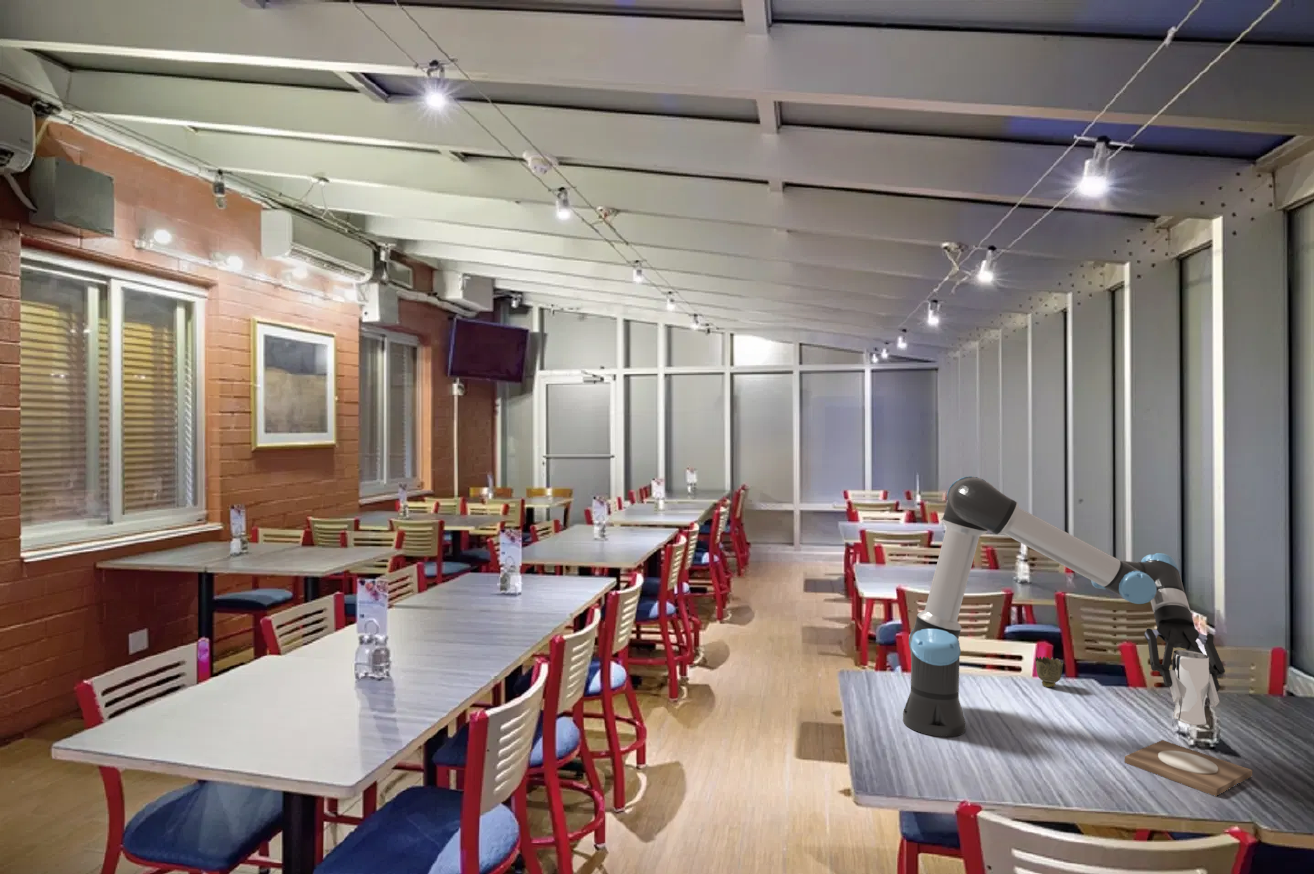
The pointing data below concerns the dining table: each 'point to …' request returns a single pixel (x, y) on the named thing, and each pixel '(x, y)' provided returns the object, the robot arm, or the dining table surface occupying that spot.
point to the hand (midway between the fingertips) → (1196, 701)
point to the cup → (1049, 670)
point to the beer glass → (1191, 685)
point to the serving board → (1189, 767)
